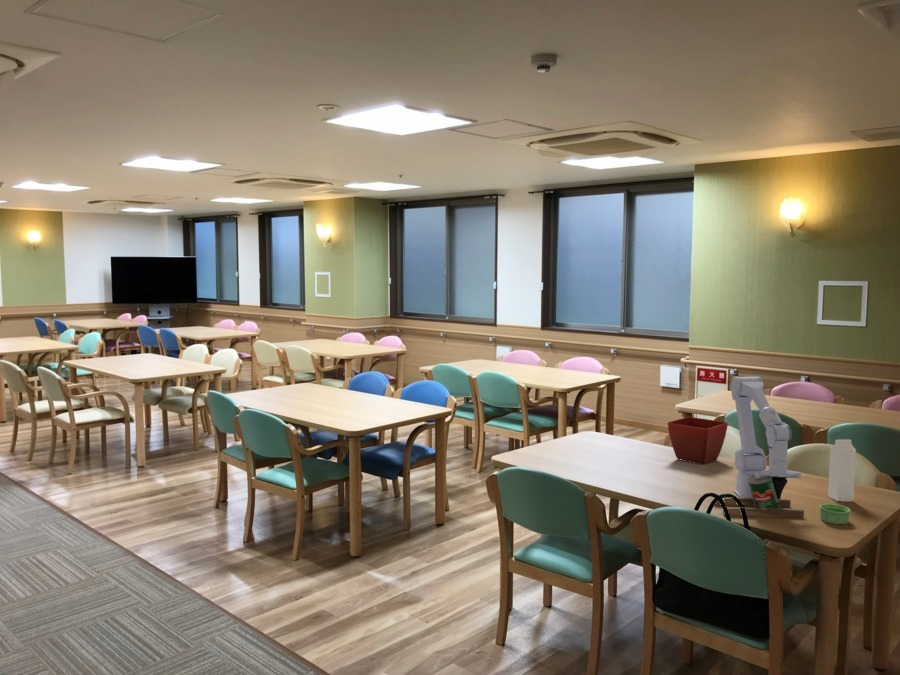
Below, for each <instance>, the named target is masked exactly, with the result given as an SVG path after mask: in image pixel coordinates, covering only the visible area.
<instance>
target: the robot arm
mask: <svg viewBox="0 0 900 675" xmlns="http://www.w3.org/2000/svg"><path fill="white" fill-rule="evenodd" d="M764 388H765V384H764V382H763V379H762V377H760V376H757V375H756V376H733V378H732V380H731V382H730V391H731V392H730V393H731V397H732V401H733V400H734V402H735V409H736V416H737V425H738V432H739V437H740V445H741V446H740V447H739V448H737V449H736V450H735V452H734V458H735V459H734V466H735V469H736V470H737V472H738V473H737V475H736V489H733V492H734V493H735V494H737V495H738V497H739V498H749V497H752V495H751V491H750V487H749V484H748V479H749V478H750V477H752V476H755V477H756V478H767V477H770V476H771V477H772V480H773V484H774V487H775V491H776V495H777V498H778V500H780V499H782V494H783V490H784V488H785V487H786V485H787V484H788V479H802V473H801V472H800V471H790V470H788V443H789V442H790V441H791V439H792V429H791V427H790V425H789V424H788V423H785V421H784V422H783V421H782V418H781V417H780V415H779V414H778V412H777V411H776V409H775V408H774V407H772V406H770V404H769V402H768V400H767V398H766V395H765V392H764ZM752 402H753V403H754V404H755V405H756V407H757V409H758V410H759V413H758V416H759V419H760V420H761V422H762V424H763V425H764V428H765V437H766V440H767V446H768V461H767V458H766V456H765V451H764V449H762V448H761V447H760V446H758V445H757V440H756V433H755V427H754V419H753V412H752V406H751V403H752ZM767 467H768V470H767Z"/></svg>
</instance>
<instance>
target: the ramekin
mask: <svg viewBox="0 0 900 675" xmlns="http://www.w3.org/2000/svg"><path fill="white" fill-rule="evenodd" d="M819 509H820V519H821V520H822V521H823V520H824V521H823V522H825V521H826V522H825V523H827V522H829V523H828V524H831V523H833V524H832V525H838V524H843V525H846V524H848V523H849V521H850V514H851V509H850V508H849V507H848V506H844V505H841V504H834V503H823V504H820V505H819Z"/></svg>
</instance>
